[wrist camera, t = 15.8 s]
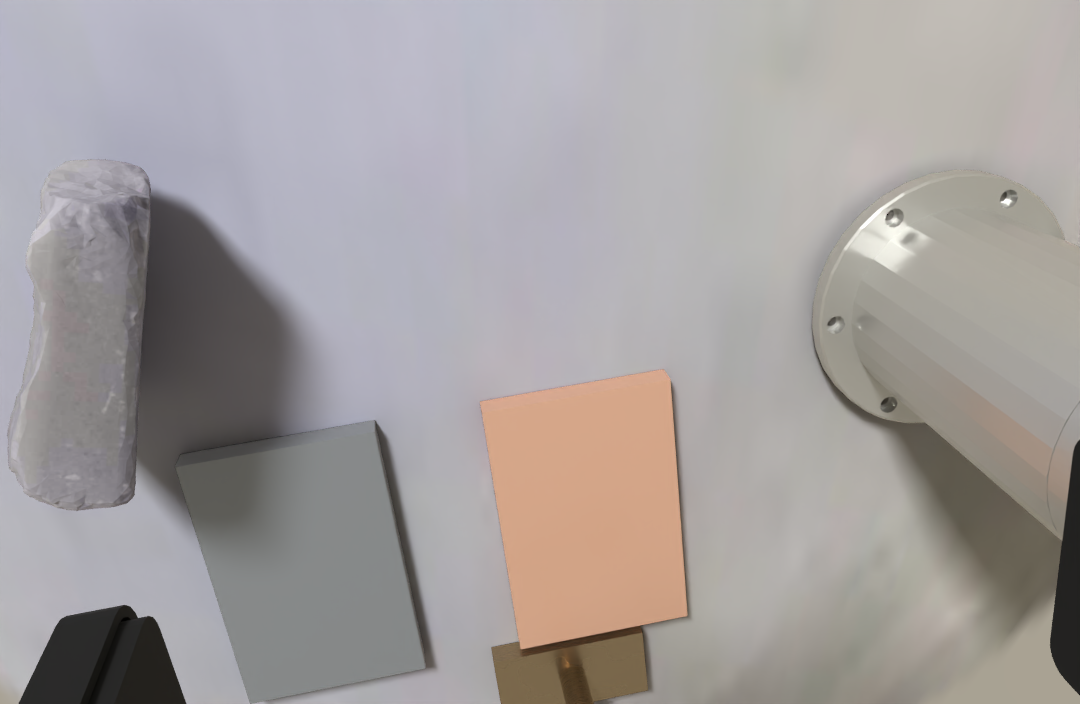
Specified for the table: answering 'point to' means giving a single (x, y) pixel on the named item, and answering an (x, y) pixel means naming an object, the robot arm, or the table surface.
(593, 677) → the balance
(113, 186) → the stone block
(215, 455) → the slate mat
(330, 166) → the table surface
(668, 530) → the terracotta mat
